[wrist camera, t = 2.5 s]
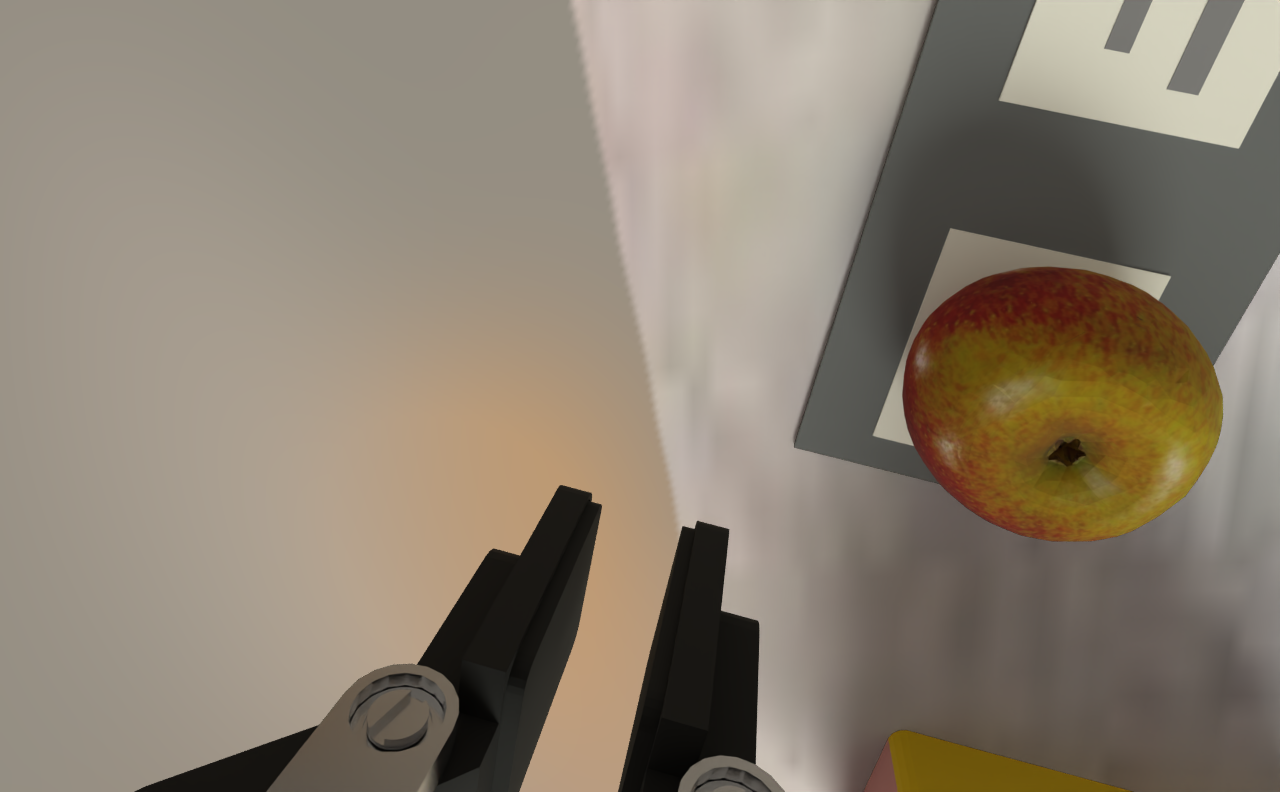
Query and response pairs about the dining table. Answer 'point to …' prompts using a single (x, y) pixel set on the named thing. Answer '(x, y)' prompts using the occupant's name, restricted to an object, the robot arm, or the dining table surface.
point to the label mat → (1059, 182)
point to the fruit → (1061, 403)
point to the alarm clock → (964, 770)
